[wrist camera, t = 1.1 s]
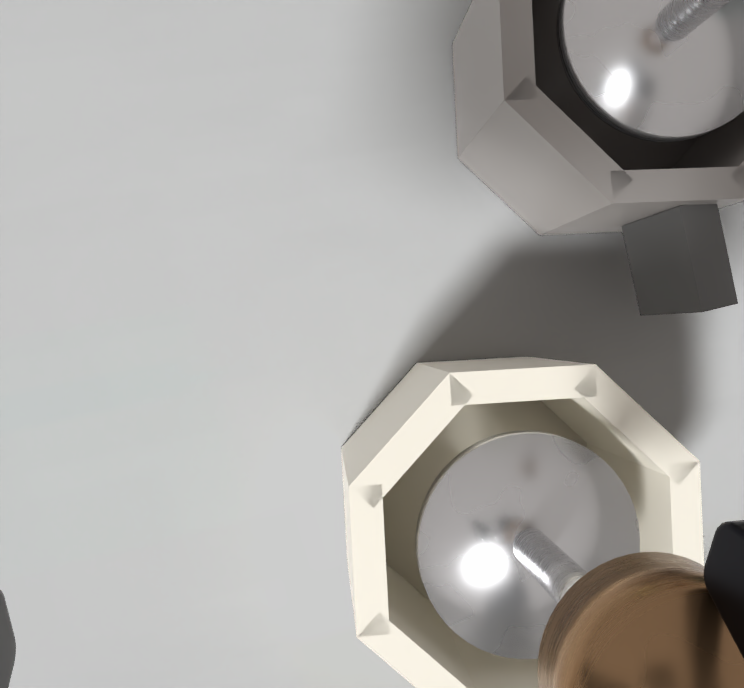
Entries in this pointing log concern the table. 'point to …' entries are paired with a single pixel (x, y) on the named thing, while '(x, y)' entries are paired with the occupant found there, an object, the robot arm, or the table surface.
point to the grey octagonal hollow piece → (592, 160)
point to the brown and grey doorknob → (565, 571)
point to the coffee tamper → (655, 63)
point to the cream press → (449, 438)
